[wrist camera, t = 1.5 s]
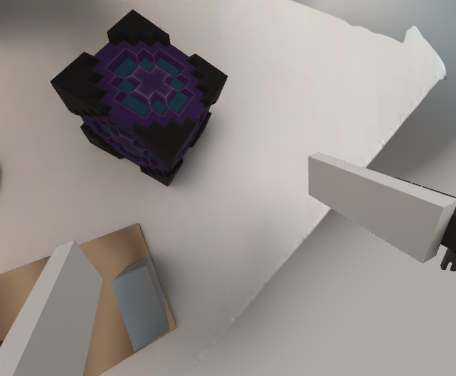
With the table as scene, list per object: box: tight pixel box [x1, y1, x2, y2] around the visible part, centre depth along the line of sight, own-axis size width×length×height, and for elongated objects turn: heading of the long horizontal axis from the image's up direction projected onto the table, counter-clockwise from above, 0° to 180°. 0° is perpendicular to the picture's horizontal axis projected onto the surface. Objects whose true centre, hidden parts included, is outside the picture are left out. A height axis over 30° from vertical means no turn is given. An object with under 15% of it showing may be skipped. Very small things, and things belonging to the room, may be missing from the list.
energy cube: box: [50, 9, 228, 186], centre depth 26 cm, size 12×12×12 cm
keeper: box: [0, 223, 176, 376], centre depth 18 cm, size 20×14×13 cm
